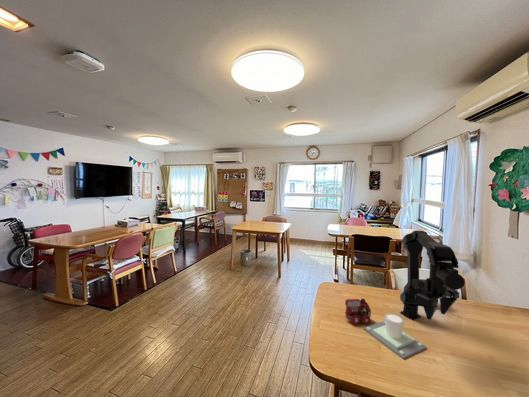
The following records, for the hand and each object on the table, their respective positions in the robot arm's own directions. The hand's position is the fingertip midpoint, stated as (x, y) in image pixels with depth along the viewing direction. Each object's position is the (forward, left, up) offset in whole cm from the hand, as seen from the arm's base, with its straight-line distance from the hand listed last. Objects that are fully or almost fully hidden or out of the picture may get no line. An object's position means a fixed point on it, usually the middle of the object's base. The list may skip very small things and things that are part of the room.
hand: (435, 316), depth 86 cm
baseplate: (+10, -10, -13) cm, 19 cm away
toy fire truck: (+14, -25, -13) cm, 32 cm away
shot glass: (+10, -10, -11) cm, 18 cm away
